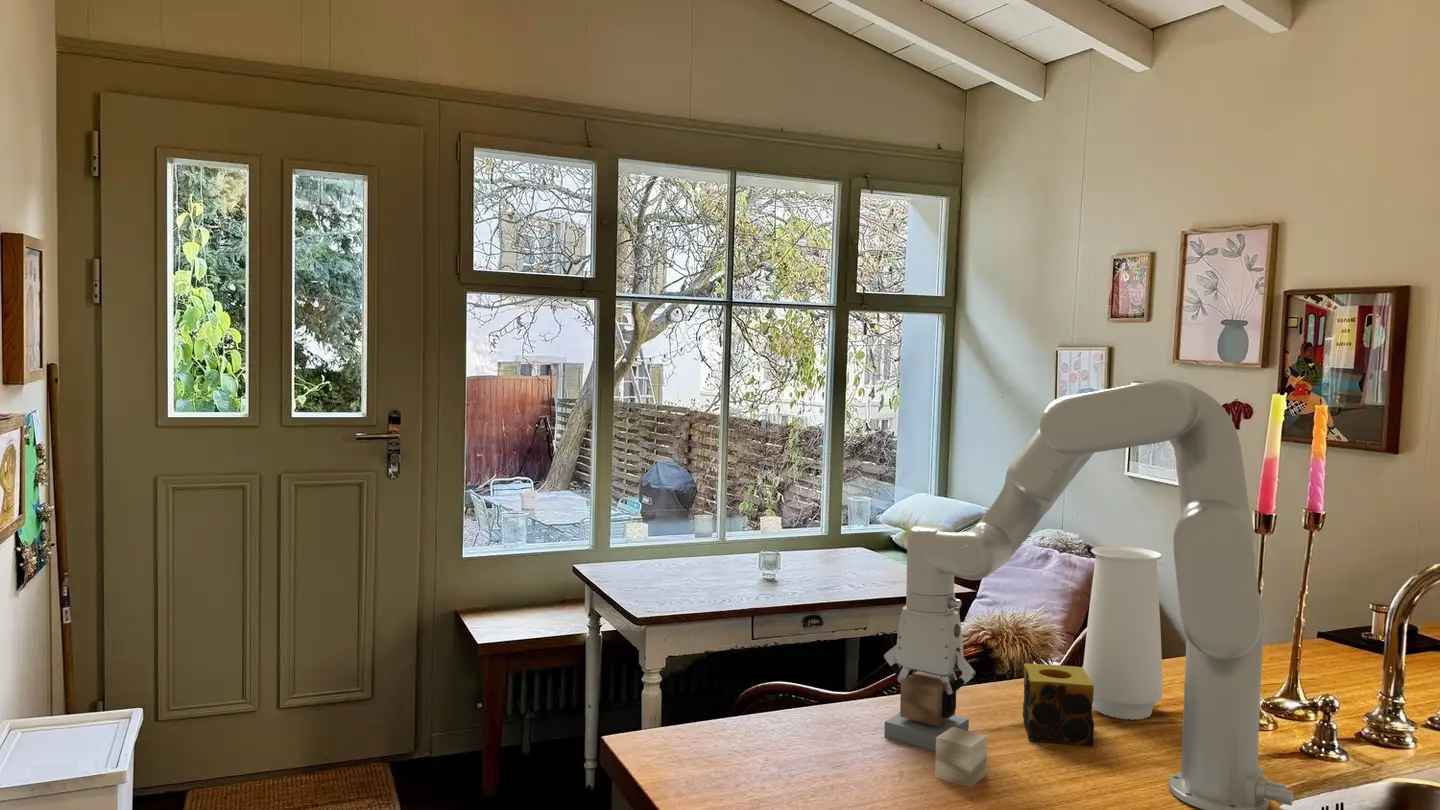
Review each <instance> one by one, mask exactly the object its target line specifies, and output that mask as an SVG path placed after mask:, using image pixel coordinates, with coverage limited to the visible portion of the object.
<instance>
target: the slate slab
mask: <svg viewBox="0 0 1440 810" xmlns="http://www.w3.org/2000/svg"><path fill="white" fill-rule="evenodd" d="M969 723H970V719H969V718H967V717H963V716H959V715H956V714H955V715H953V716H952V717H950V718H949V719H947V720H946V721H944V722H943V723H941V724H940V725H938V726H935V725H931V724H927V723H923V722H919V721H916V720H912V719H908V718H904V717H900V712H899V713H897V714H895V715H894V716H891V717H889V718H888V719H887V720H885V721H884V731H883V732H884V734H883V736H884V737H883V738H888V739H891V740H894V741H899V742H903V743H906V744H909V745H912V746H915V747H916V746H917V747H920V748H924V749H927V750H931V751H934V752H936V737H938V736H939V735H941V734H942V733H944V732H945V731H947V730H948V729H950V728H951V727H956V728H959V729H963V730H967V731H969V725H970V724H969Z"/></svg>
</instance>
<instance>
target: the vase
mask: <svg viewBox="0 0 1440 810" xmlns="http://www.w3.org/2000/svg"><path fill="white" fill-rule="evenodd" d="M1090 552H1091V553H1092V554H1093V555H1095V558H1094V566H1093V575H1092V584H1091V591H1090V601H1089V609H1088V618H1087V627H1086V636H1085V647H1084V655H1083V666H1082V667H1083V668H1084V670H1085V672H1086V674H1087V676H1088V677H1089V679H1090V680H1091V682H1092V683H1093V685H1094V693H1093V703H1092V710H1094V711H1095V710H1096V711H1095V712H1097V711H1098V712H1097V713H1099V712H1100V713H1099V714H1101V713H1102V714H1101V715H1103V714H1104V716H1106V715H1108V716H1107V717H1110V716H1111V717H1110V718H1114V717H1115V719H1119V718H1120V720H1128V719H1130V720H1133V721H1134V720H1135V719H1136V720H1137V721H1138V720H1144V718H1145V719H1147V717H1148V718H1149V717H1151V716H1152V713H1153V708H1154V706H1155V704H1156V703H1158V702H1159V701H1161V699H1162V698H1163V697H1162V696H1163V660H1162V658H1163V657H1162V655H1163V654H1162V637H1161V636H1162V634H1161V633H1162V632H1161V630H1162V629H1161V616H1160V615H1161V614H1160V612H1161V611H1160V594H1159V593H1160V592H1159V579H1158V577H1159V576H1158V562H1157V561H1158V560H1160V559H1162V558H1163V556H1162V553H1160V552H1158V551H1155V550H1152V549H1147V548H1144V547H1143V548H1141V547H1136V546H1125V545H1124V546H1123V545H1101V546H1095V547H1093V548H1091V549H1090Z"/></svg>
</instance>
